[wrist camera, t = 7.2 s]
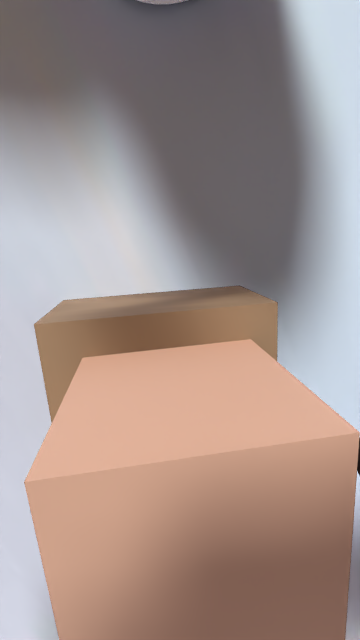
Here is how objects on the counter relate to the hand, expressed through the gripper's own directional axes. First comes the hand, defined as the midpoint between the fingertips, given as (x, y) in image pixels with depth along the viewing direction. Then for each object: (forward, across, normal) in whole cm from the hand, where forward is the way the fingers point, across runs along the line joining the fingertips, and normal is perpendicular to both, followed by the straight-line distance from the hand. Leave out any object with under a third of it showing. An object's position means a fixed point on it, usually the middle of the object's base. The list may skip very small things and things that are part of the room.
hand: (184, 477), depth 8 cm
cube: (+2, 0, 0) cm, 3 cm away
